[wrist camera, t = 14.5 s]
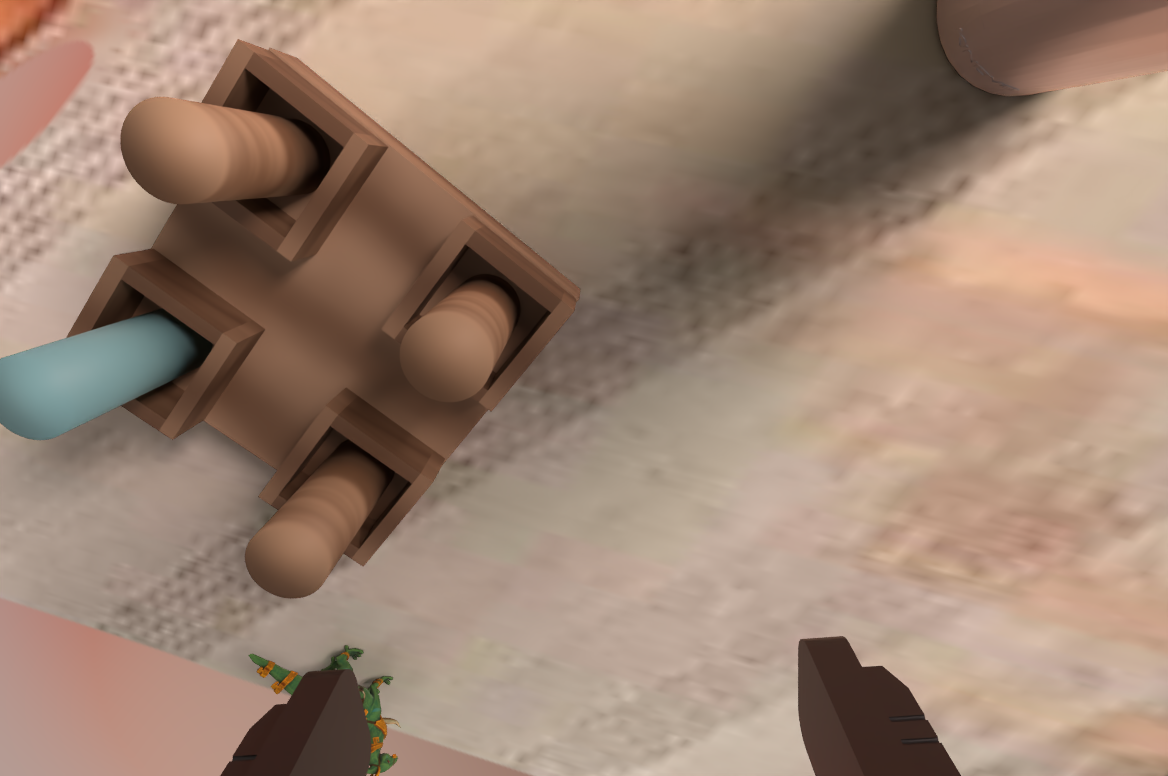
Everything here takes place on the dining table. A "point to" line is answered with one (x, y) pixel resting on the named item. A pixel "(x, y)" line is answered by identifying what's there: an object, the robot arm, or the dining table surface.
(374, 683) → the figurine
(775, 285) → the dining table surface
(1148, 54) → the robot arm
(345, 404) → the stool seat
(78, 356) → the loose leg
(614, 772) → the dining table surface
